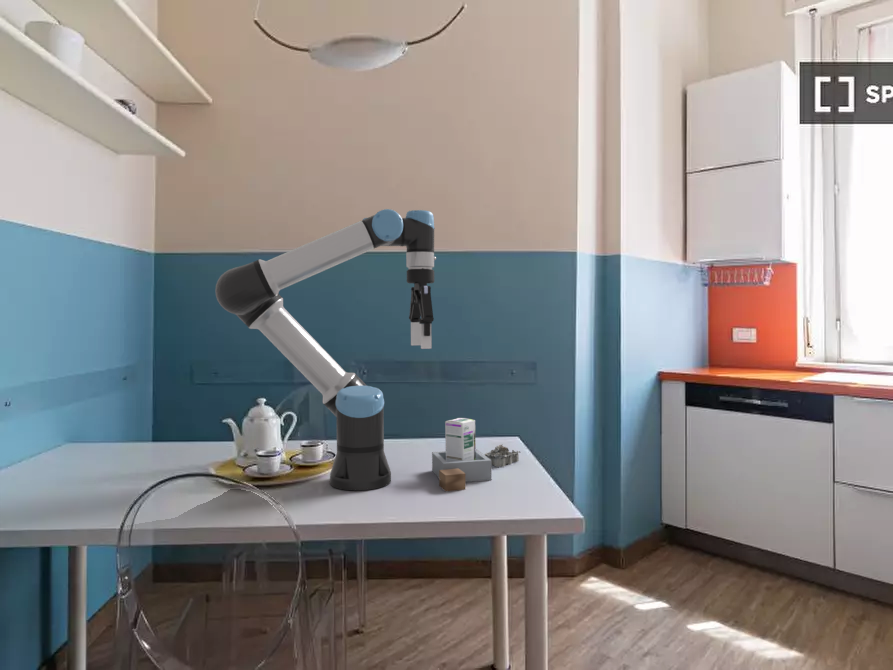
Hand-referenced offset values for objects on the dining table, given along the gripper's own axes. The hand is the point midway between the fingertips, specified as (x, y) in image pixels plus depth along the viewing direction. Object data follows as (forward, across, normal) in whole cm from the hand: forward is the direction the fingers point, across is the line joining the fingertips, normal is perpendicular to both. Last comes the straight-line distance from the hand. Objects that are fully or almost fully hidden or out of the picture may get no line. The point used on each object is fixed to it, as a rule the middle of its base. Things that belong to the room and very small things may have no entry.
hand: (420, 347), depth 173 cm
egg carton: (+33, -2, -23) cm, 40 cm away
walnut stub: (+33, -22, -3) cm, 40 cm away
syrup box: (+33, -12, -8) cm, 36 cm away
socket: (+33, -12, -8) cm, 36 cm away
